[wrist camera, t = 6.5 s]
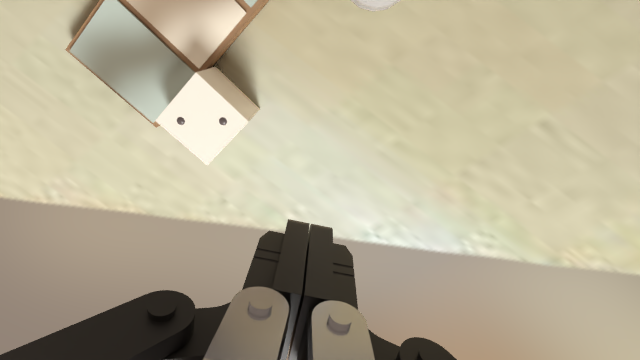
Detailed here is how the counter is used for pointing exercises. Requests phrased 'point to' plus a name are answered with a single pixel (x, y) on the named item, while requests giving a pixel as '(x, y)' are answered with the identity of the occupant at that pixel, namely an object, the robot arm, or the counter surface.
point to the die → (207, 113)
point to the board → (157, 45)
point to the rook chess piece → (375, 4)
